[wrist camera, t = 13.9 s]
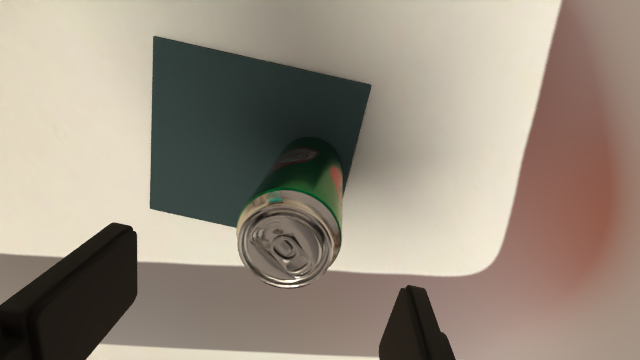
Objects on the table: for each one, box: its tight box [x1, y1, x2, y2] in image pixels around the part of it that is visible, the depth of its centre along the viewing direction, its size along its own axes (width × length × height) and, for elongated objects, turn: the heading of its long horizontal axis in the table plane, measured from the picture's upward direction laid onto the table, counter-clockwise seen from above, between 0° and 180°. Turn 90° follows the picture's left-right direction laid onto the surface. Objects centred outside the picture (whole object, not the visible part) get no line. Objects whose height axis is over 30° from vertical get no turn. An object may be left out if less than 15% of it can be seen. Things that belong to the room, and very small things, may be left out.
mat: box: [150, 36, 371, 228], centre depth 26 cm, size 14×16×1 cm
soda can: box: [237, 137, 343, 288], centre depth 20 cm, size 5×5×12 cm
